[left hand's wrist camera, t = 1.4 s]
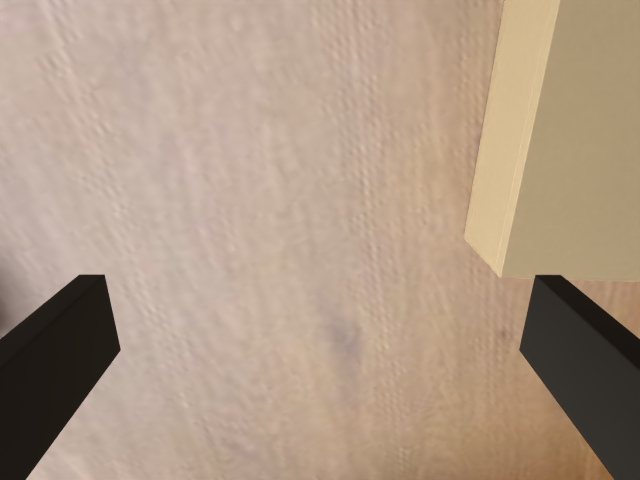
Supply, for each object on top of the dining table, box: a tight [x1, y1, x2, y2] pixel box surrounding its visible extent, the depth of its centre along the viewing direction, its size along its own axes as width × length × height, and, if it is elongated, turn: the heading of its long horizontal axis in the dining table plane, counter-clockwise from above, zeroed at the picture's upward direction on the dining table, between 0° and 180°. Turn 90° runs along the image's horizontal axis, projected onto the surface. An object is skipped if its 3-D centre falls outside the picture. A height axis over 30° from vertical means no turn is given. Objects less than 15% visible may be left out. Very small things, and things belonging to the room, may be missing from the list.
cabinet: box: [464, 0, 640, 282], centre depth 30 cm, size 19×11×8 cm, turn 178°
